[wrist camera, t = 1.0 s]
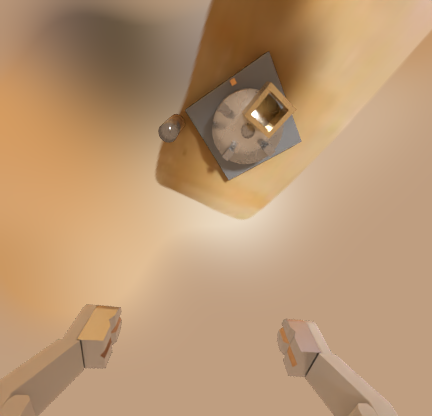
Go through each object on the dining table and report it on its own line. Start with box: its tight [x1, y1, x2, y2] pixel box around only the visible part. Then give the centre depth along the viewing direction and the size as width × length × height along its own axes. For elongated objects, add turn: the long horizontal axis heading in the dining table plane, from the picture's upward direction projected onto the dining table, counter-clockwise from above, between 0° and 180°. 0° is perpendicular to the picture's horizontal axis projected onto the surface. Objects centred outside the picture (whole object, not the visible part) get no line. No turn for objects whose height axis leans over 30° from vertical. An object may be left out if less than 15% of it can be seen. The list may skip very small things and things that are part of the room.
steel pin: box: [159, 114, 184, 142], centre depth 37 cm, size 3×3×9 cm
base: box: [185, 51, 302, 180], centre depth 39 cm, size 17×17×4 cm
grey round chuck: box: [212, 81, 296, 164], centre depth 36 cm, size 14×13×6 cm
